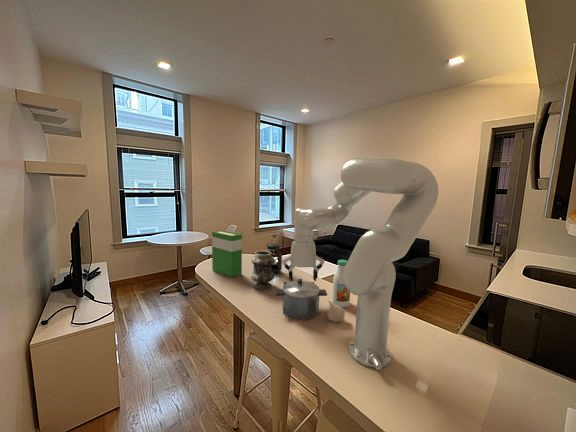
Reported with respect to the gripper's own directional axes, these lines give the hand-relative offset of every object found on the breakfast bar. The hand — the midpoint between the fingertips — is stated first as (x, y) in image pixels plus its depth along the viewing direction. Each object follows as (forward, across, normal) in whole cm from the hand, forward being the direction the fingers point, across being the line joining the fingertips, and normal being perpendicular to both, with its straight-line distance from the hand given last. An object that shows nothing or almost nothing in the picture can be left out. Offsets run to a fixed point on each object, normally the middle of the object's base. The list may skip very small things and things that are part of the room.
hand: (303, 280), depth 99 cm
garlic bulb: (+15, -12, +6) cm, 20 cm away
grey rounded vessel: (+13, +18, -27) cm, 35 cm away
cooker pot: (+14, +1, -2) cm, 14 cm away
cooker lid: (+5, +1, -2) cm, 6 cm away
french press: (+13, +12, -48) cm, 51 cm away
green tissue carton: (+12, +40, -47) cm, 63 cm away
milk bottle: (+14, -18, -8) cm, 25 cm away
